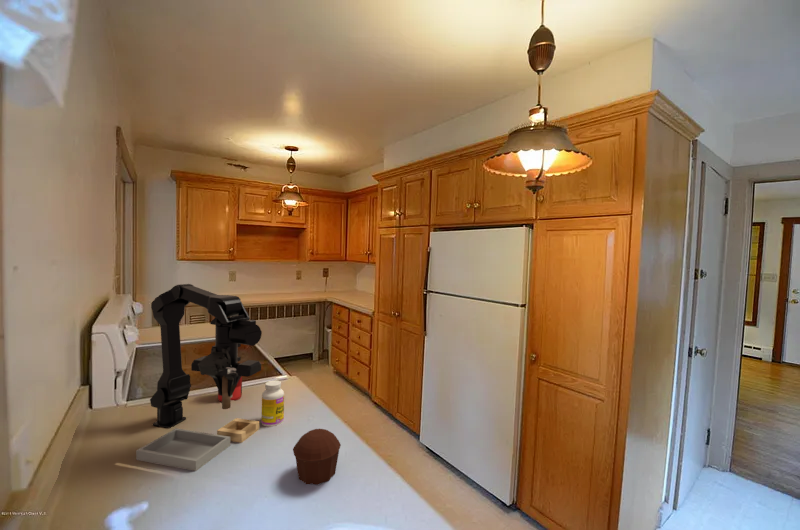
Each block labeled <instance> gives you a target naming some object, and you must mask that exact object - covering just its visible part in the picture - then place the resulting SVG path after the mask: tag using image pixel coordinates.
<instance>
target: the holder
mask: <svg viewBox="0 0 800 530" xmlns="http://www.w3.org/2000/svg"><path fill="white" fill-rule="evenodd" d="M259 430H260V421H258V420H254V419H253V420H252V419H246V418H240V417H235V418H234V419H233V420H231V421H229V422H228V423H226V424H225V425H223V426H222V427H220V428H219V429H217V431H216V435H222V436H229V437H230V442H234V443H239V444H242V443H243V442H245V441H247V440H248V439H249V438H250V437H251V436H253V435H254V434H256V432H258V431H259Z"/></svg>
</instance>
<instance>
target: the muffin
mask: <svg viewBox="0 0 800 530" xmlns="http://www.w3.org/2000/svg"><path fill="white" fill-rule="evenodd" d="M341 446H342V445H341V442H340V441H339V438H337V436H336V435H335V434H334V433H333V432H331V431H329V430H328V429H324V428H314V429H311V430H309V431H307V432H306V433H304V434H303V435H302V436H301V437H300V438H299V439H298V440H297V442H296V443H295V445H294V446H293V448H292V451H293V456H294V457H295V462H296V470H297V476H298V480H299V481H301V482H303V483H304V484H305V485H316V486H319V485H321V484H323V483H326V482H329V481H330V480H331V479H332V478H333V477H334V476H335V474H336V470H337V463H338V461H339V459H338V458H339V453H340V449H341Z"/></svg>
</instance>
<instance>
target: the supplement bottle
mask: <svg viewBox="0 0 800 530" xmlns="http://www.w3.org/2000/svg"><path fill="white" fill-rule="evenodd" d="M264 385H265V390H264V391H263V392H262V394H261V418H260V419H261V420H260V421H261V425H262V426H264V427H267V428H269V427H277V426H279V425H282V424H283V422H285V421H284V419H285V391H284V390H283V389H282V388H281V386H282V381H281V380H278V379H277V380H269V381H266V382H265V383H264Z"/></svg>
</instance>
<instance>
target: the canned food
mask: <svg viewBox="0 0 800 530" xmlns="http://www.w3.org/2000/svg"><path fill="white" fill-rule="evenodd" d="M229 373H230V369H228V372H227V374H229ZM242 395H243V376H241V378H240V380H239V381H238V383H237V386H236V388H235V390H234V392H233V394H232V396H231V401H238V400H240V399H241V398H242ZM217 398H218V401H219V402H220V403H222V396H221V395H220V393H219V391H218V390H217Z"/></svg>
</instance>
